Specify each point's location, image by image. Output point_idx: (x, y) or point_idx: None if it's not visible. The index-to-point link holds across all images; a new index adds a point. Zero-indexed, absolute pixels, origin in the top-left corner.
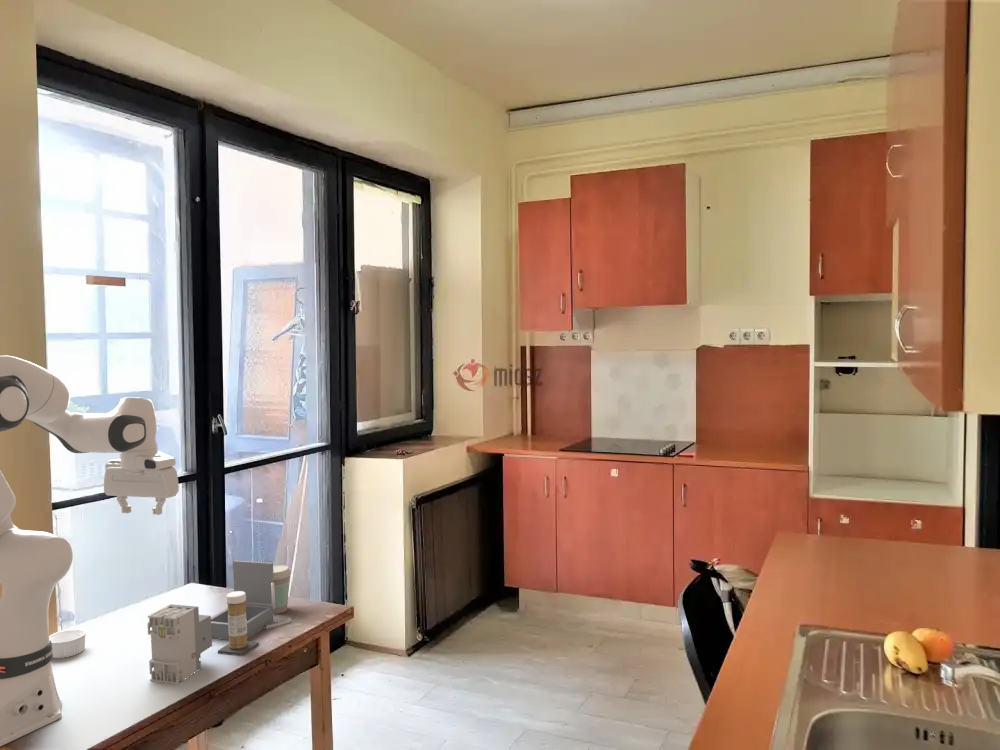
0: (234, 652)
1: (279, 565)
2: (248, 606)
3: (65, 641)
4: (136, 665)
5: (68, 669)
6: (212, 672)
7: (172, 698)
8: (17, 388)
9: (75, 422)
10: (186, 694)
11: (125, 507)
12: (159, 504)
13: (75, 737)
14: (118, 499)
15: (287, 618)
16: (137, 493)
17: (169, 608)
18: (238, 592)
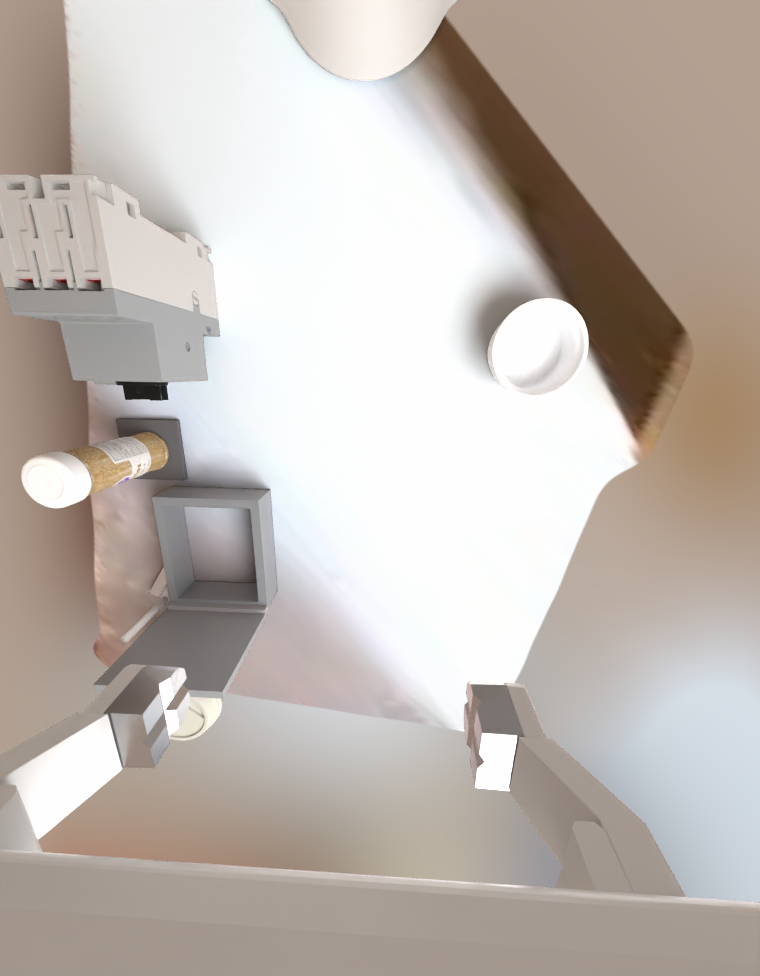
0: (135, 419)
1: (183, 737)
2: (226, 600)
3: (512, 313)
4: (304, 319)
5: (447, 259)
6: None
7: (91, 171)
8: None
9: None
10: None
11: (490, 728)
12: (11, 752)
13: None
14: (625, 832)
15: (158, 595)
16: (202, 942)
17: (86, 272)
18: (48, 494)
